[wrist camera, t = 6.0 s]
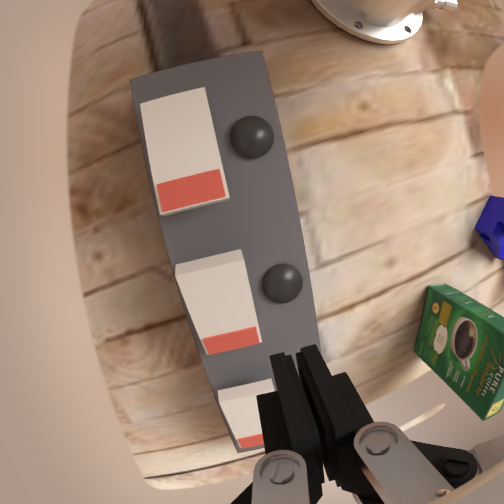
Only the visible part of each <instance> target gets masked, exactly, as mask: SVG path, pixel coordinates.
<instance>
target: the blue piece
mask: <svg viewBox="0 0 504 504" xmlns="http://www.w3.org/2000/svg"><path fill="white" fill-rule="evenodd" d="M475 230H476V231H477V232H478V234H479V235H480V236H481V238H482V239H483V240H484V242H485V243H486V244H487V246H488V247H489V249H490V250H491V252H492V253H493V254H494V256H495V257H496V258H498V259H501V260H503V259H504V198H502V197H495V196H490V198H489V200H488V202H487V204H486V206H485V208H484V210H483V212H482V214H481V216H480V218H479V220H478V222H477V224H476V226H475Z"/></svg>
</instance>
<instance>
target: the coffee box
mask: <svg viewBox="0 0 504 504" xmlns="http://www.w3.org/2000/svg"><path fill="white" fill-rule="evenodd" d="M424 305H425V306H424V312H423V316H422V320H421V325H420V329H419V333H418V336H417V340H416V345H415V349H414V353H416V354H417V355H418V357H419V358H420V359H422V360H423V361H424V362H425V363H426V364H427V365H428V366H429V367H430V368H431V369H432V370H433V371H434V372H435V373H436V374H437V375H438V376H439V377H440V378H441V379H442V380H443V381H444V382H445V383H447V385H448V386H449V387H450V388H451V389H452V390H453V391H454V392H455V393H456V394H457V395H458V396H459V397H460V398H461V399H462V400H463V401H464V402H465V403H466V404H467V405H468V406H469V407H470V408H471V409H472V410H473V411H474V412H475V413H476V414H477V415H478V416H479V417H480V419H481V420H483V421H484V420H486V419H488V418H490V417H492V416H494V415H496V414H497V413H499V412H500V411H501V409H502V407H503V405H504V317H502V316H501V315H499V314H497V313H496V312H494V311H493V310H491V309H489V308H487V307H486V306H484V305H482V304H481V303H479V302H477V301H476V300H474V299H472V298H471V297H469V296H467V295H465V294H463V293H462V292H460V291H458V290H457V289H455V288H453V287H451V286H449V285H447V284H432V285H429V286H428V291H427V296H426V299H425V304H424Z"/></svg>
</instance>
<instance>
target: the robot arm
mask: <svg viewBox="0 0 504 504" xmlns="http://www.w3.org/2000/svg"><path fill="white" fill-rule="evenodd" d="M311 1H312V3H313V4H314V5H315V6H316V8H317V9H318V10H319V11H320V12H321V13H322V14H323V15H324V16H325V17H326V18H327V19H329V20H330V21H331V22H333V23H334V24H335V25H337V26H338V27H339V28H341V29H343V30H345V31H346V32H348V33H350V34H352V35H354V36H356V37H359V38H361V39H363V40H367V41H370V42H373V43H380V44H396V43H400V42H403V41H405V40H407V39H409V38H410V37H412V36H413V35H414V34H416V33H417V31H418V30H419V28H420V27H421V24H422V20H423V11H425V10H426V9H434V8H435V7H437V8H439V9H443V10H447V11H450V12H454V11H456V10H457V8H458V3H457V0H311ZM300 351H301V352H298V353H296V360H297V366H298V372H299V375H298V372H297V369H296V367H295V364H294V361H293V358H292V356H291V354H290V355H286V356H285V353H284V352H282V353H278V354H273V355H269V357H270V362H271V366H272V370H273V375H274V379H275V383H276V388H277V391H273V392H269V393H264V394H260V395H256V399H257V405H258V411H259V417H260V423H261V429H262V435H263V441H264V447H265V453H266V455H264V456H263V457H262V458H261V459H259V461H258V462H257V464H256V465H255V468H254V473H253V482H252V483H251V484H250V485H249V486H248V487H247V488H246V489H245V490H244V491H243V492H242V493H241V494H240V495H239V496H238V497H237V498H236V499H235V500H234V501H233V502H232V503H231V504H316V503H317V502H318V501H319V499H320V498H321V497H322V495H323V494H322V486H321V484H322V483H325V482H324V471H323V465H324V467H325V471H326V474H327V477H328V479H329V481H332V480H335V481H336V484H337V487H339V486H341V488H342V490H345V491H348V492H351V493H352V494H353V497H354V499H355V500H356V502H357V503H358V504H504V434H503V435H501V436H498V437H496V438H494V439H492V440H489V441H486V442H483V443H481V444H478V445H476V446H474V447H473V448H472V449H471V450H468V451H465V450H462V449H456V448H449V447H442V446H437V445H431V444H426V443H421V442H416V441H411V440H409V439H408V437H407V436H406V435H405V434H404V433H403V432H402V431H401V430H400V429H399V428H398V427H397V426H396V425H394V424H391V423H388V422H374V421H373V419H372V418H371V416H370V414H369V412H368V410H367V409H366V407H365V405H364V403H363V401H362V400H361V398H360V396H359V394H358V392H357V391H356V389H355V387H354V385H353V383H352V382H351V380H350V378H349V376H348V375H347V373H345V372H344V373H340V374H337V375H334V376H332V375H331V373H330V371H329V369H328V367H327V365H326V363H325V361H324V359H323V357H322V355H321V353H320V351H319V349H318V347H317V346H316V344H313V345H309V346H305V347H302V348H300Z"/></svg>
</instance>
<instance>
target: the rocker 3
mask: <svg viewBox="0 0 504 504" xmlns="http://www.w3.org/2000/svg"><path fill="white" fill-rule="evenodd" d="M273 391H275V390H274V386H273V383H272V379H271V378H270V379H266V380H262V381H258V382H254V383H250V384H245V385H241V386H236V387H232V388H227V389H222V390H218V398H219V404H220V406H221V408H222V410H223V413H224V415H225V417H226V419H227V421H228V424H229V426H230V428H231V430H232V432H233V434H234V436H235V439H236V441H237V443H238V445H239V447H240V448H242V449H244V448H249V447H254V446H258V445H263V444H264V441H263V435H262V429H261V423H260V417H259V411H258V405H257V399H256V395H260V394H264V393H269V392H273Z"/></svg>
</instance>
